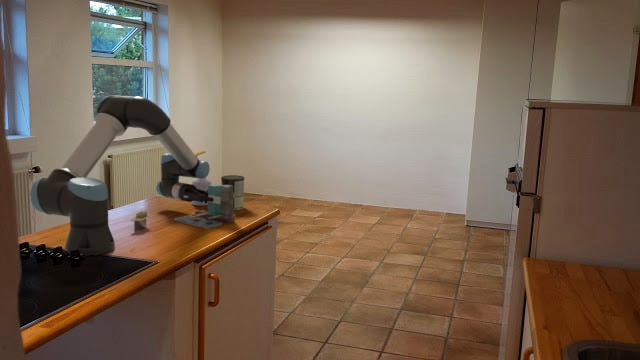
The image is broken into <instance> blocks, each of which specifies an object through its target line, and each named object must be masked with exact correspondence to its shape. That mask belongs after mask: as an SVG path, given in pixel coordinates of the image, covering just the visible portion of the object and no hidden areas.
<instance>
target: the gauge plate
mask: <svg viewBox="0 0 640 360" xmlns="http://www.w3.org/2000/svg"><path fill="white" fill-rule="evenodd" d="M174 222H176V223H180V224H185V225H187V226H188V225H189V226H193V227H197V228H201V229H204V230H210V229H213V228H218V227H222V226H223V223H222V222H218V221H213V220H209V219H205V218H200V217H196V216H195V215H191V214H189V215H184V216H180V217H179V216H178V217H174Z"/></svg>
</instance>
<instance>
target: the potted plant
mask: <svg viewBox="0 0 640 360" xmlns="http://www.w3.org/2000/svg"><path fill="white" fill-rule="evenodd" d="M150 217H151V214H148V211H147V210H141V211H140V212H138V213H136V214H135V217H132V218H131V219H130V221H131V222H133V225H134V226H133V228H134V231H133V232H136V231H137V230H140V229H141V228H147V218H150Z"/></svg>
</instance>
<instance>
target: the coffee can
mask: <svg viewBox="0 0 640 360" xmlns="http://www.w3.org/2000/svg"><path fill="white" fill-rule="evenodd" d="M220 179H221V183H220V184H221V186H222V185H232V186H233V211H240V210H243V209H244V208H245V206H244V205H245V176H243V175H233V174H232V175H228V174H227V175H222V176H221V178H220Z"/></svg>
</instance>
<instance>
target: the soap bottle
mask: <svg viewBox="0 0 640 360" xmlns="http://www.w3.org/2000/svg"><path fill="white" fill-rule="evenodd" d="M194 154H195V155H196V157H197V158H198V156H200V155H202V154H206V151H205V150H202V151H199V152H196V153H194ZM191 184H192V185H194V186H195V187H196V188H197V189H200V190H206V189H208V185H213V184H212V181H211V180H210V179H209V178H207V177H206V178H193V180H192V182H191ZM191 205H193V206H197V207H204V206H208V201H207V203H205V202H204V201H203V202H198V201H192V202H191Z"/></svg>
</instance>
